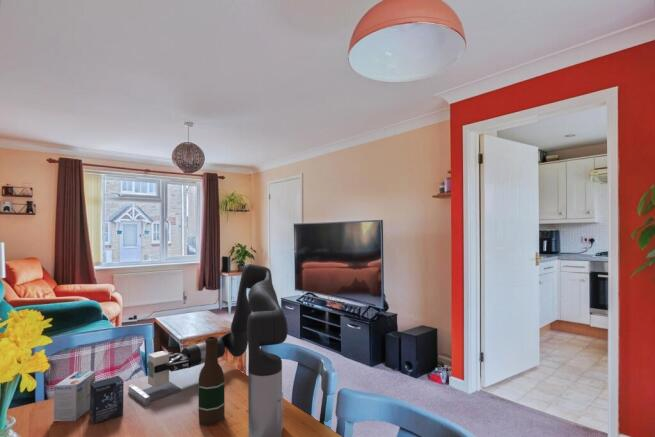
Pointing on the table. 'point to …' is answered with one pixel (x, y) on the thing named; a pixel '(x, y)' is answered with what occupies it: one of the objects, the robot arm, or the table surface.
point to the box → (106, 399)
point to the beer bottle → (211, 387)
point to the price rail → (139, 395)
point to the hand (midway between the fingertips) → (151, 367)
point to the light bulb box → (73, 396)
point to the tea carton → (159, 377)
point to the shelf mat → (161, 391)
